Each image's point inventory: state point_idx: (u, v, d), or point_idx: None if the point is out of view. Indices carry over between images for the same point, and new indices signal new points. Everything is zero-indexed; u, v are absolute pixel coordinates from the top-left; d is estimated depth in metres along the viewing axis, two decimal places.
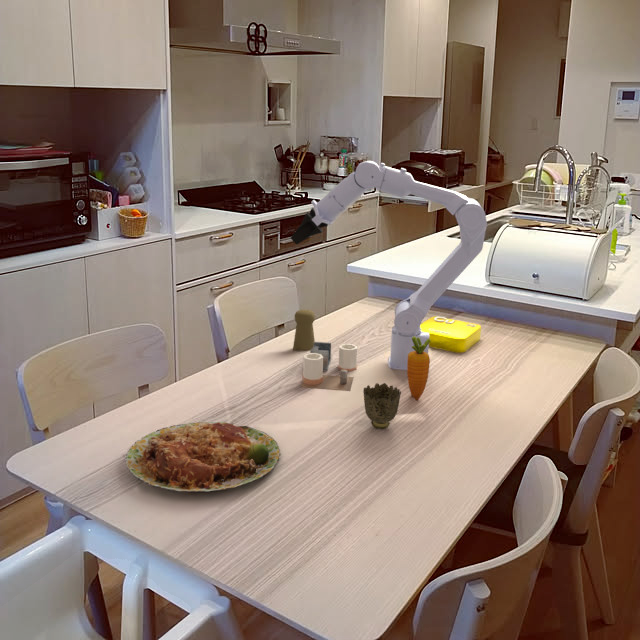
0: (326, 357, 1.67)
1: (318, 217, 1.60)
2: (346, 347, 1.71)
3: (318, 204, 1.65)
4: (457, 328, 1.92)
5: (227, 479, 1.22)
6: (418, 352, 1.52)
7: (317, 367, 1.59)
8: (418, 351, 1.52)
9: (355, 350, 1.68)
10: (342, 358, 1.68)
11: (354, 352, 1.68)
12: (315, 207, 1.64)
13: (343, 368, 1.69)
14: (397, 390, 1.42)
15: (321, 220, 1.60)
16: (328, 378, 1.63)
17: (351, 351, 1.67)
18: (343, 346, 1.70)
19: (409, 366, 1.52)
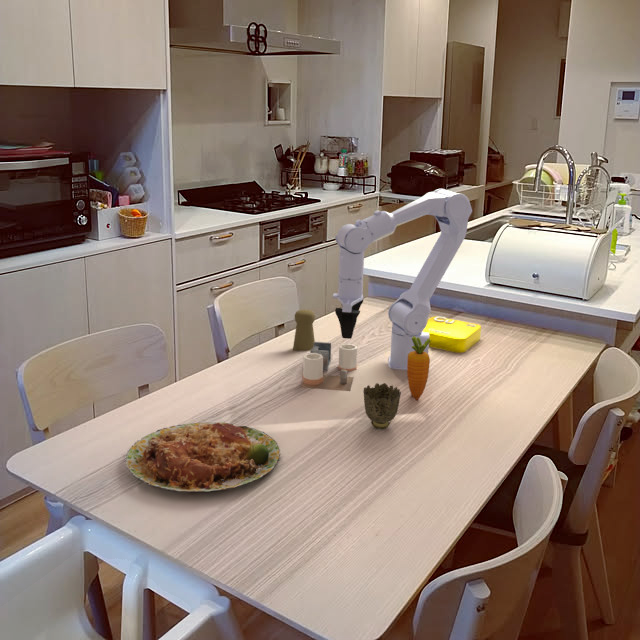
0: (326, 357, 1.67)
1: (345, 305, 1.58)
2: (346, 347, 1.71)
3: (339, 294, 1.64)
4: (456, 328, 1.92)
5: (227, 479, 1.22)
6: (418, 352, 1.52)
7: (317, 367, 1.59)
8: (418, 351, 1.52)
9: (355, 350, 1.68)
10: (342, 358, 1.68)
11: (354, 352, 1.68)
12: (338, 298, 1.63)
13: (343, 368, 1.69)
14: (397, 390, 1.42)
15: (349, 305, 1.58)
16: (328, 378, 1.63)
17: (351, 351, 1.67)
18: (343, 346, 1.70)
19: (409, 366, 1.52)
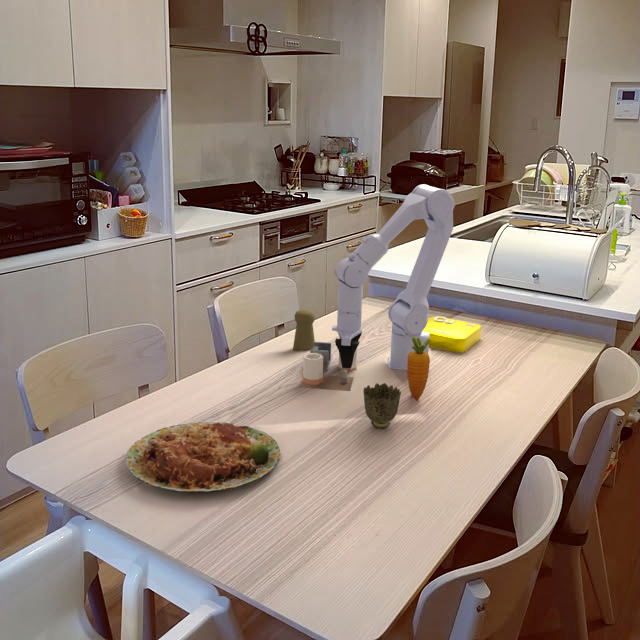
0: (326, 357, 1.67)
1: (344, 339, 1.61)
2: None
3: (338, 327, 1.66)
4: (456, 328, 1.92)
5: (227, 479, 1.22)
6: (418, 352, 1.52)
7: (317, 367, 1.59)
8: (418, 351, 1.52)
9: None
10: None
11: None
12: (337, 331, 1.66)
13: (343, 368, 1.69)
14: (397, 390, 1.42)
15: (348, 339, 1.61)
16: (328, 378, 1.63)
17: None
18: None
19: (409, 366, 1.52)
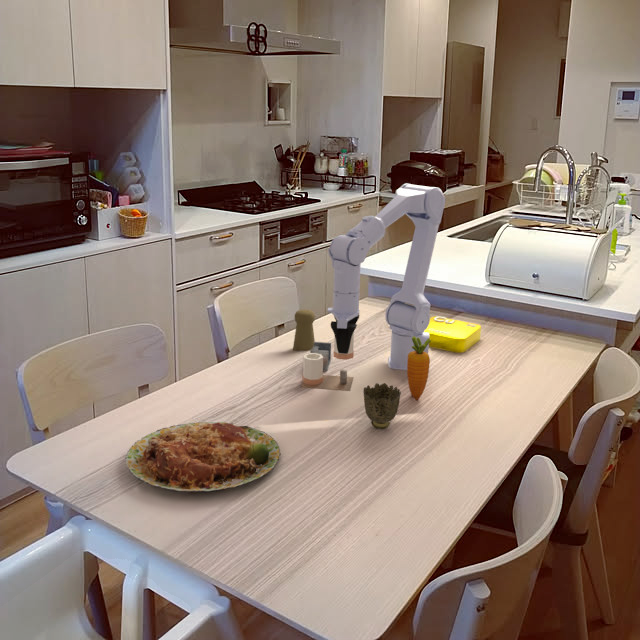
0: (326, 357, 1.67)
1: (340, 321, 1.49)
2: None
3: (334, 309, 1.55)
4: (456, 328, 1.92)
5: (227, 479, 1.22)
6: (418, 352, 1.52)
7: (317, 367, 1.59)
8: (418, 351, 1.52)
9: (352, 334, 1.56)
10: None
11: None
12: (333, 313, 1.54)
13: (339, 353, 1.57)
14: (397, 390, 1.42)
15: (345, 321, 1.49)
16: (328, 378, 1.63)
17: None
18: None
19: (409, 366, 1.52)
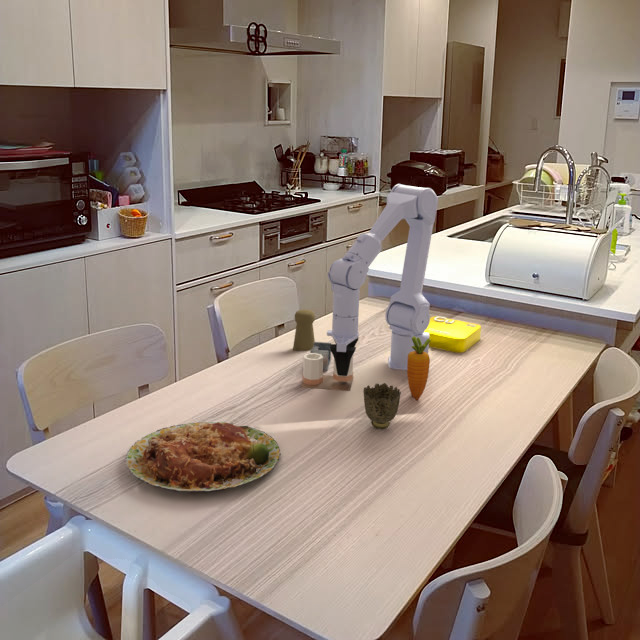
0: (326, 357, 1.67)
1: (339, 345, 1.51)
2: None
3: (333, 331, 1.56)
4: (456, 328, 1.92)
5: (227, 479, 1.22)
6: (418, 352, 1.52)
7: (317, 367, 1.59)
8: (418, 351, 1.52)
9: None
10: None
11: None
12: (333, 336, 1.56)
13: (338, 375, 1.58)
14: (397, 390, 1.42)
15: (344, 345, 1.50)
16: (328, 378, 1.63)
17: None
18: None
19: (409, 366, 1.52)
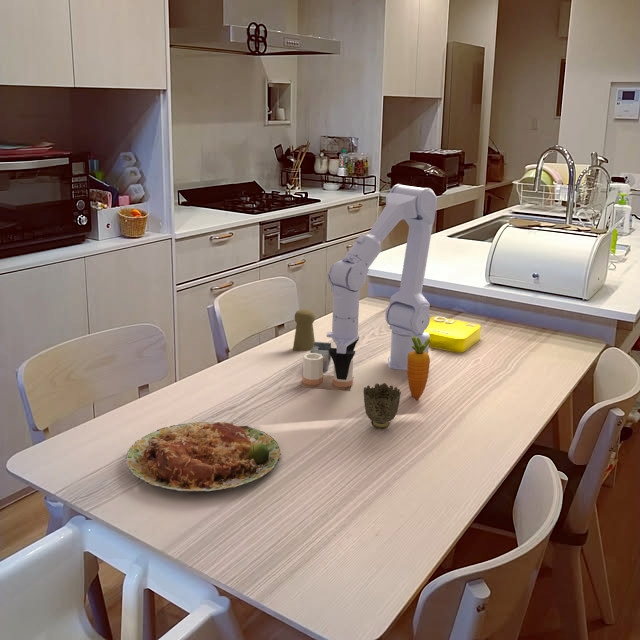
0: (326, 357, 1.67)
1: (339, 346, 1.51)
2: None
3: (333, 333, 1.56)
4: (456, 328, 1.92)
5: (227, 479, 1.22)
6: (418, 352, 1.52)
7: (317, 367, 1.59)
8: (418, 351, 1.52)
9: (351, 362, 1.58)
10: None
11: (350, 364, 1.58)
12: (332, 338, 1.56)
13: (338, 381, 1.59)
14: (397, 390, 1.42)
15: (344, 346, 1.51)
16: (328, 378, 1.63)
17: None
18: None
19: (409, 366, 1.52)
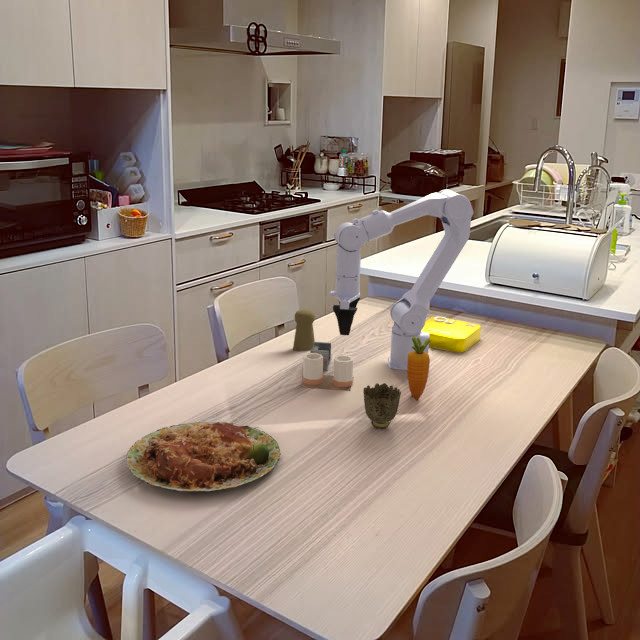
0: (326, 357, 1.67)
1: (343, 302, 1.61)
2: (341, 359, 1.61)
3: (336, 291, 1.66)
4: (456, 328, 1.92)
5: (228, 479, 1.22)
6: (418, 352, 1.52)
7: (317, 367, 1.59)
8: (418, 351, 1.52)
9: (351, 362, 1.58)
10: (337, 370, 1.58)
11: (350, 364, 1.58)
12: (336, 296, 1.66)
13: (338, 381, 1.59)
14: (397, 390, 1.42)
15: (347, 302, 1.61)
16: (328, 378, 1.63)
17: (347, 364, 1.57)
18: (338, 358, 1.60)
19: (409, 366, 1.52)
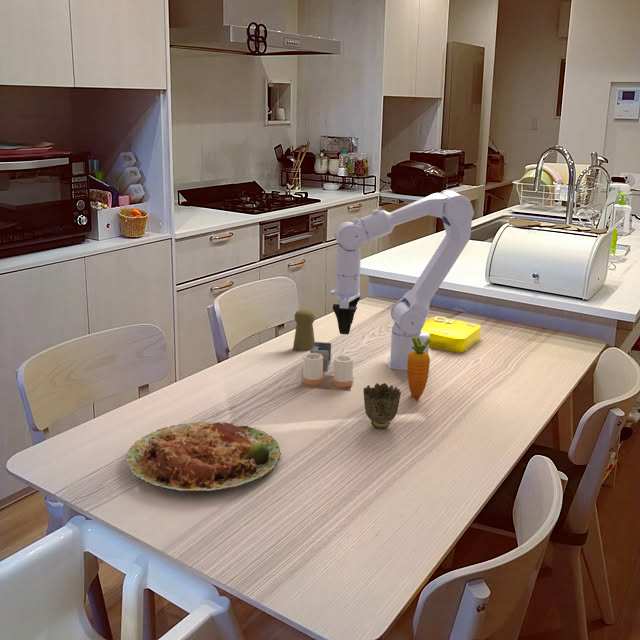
0: (326, 357, 1.67)
1: (342, 301, 1.61)
2: (341, 359, 1.61)
3: (336, 291, 1.67)
4: (456, 328, 1.92)
5: (228, 478, 1.22)
6: (418, 352, 1.52)
7: (317, 367, 1.59)
8: (418, 351, 1.52)
9: (351, 362, 1.58)
10: (337, 370, 1.58)
11: (350, 364, 1.58)
12: (336, 295, 1.66)
13: (338, 381, 1.59)
14: (397, 390, 1.42)
15: (346, 301, 1.61)
16: (328, 378, 1.63)
17: (347, 364, 1.57)
18: (338, 358, 1.60)
19: (409, 366, 1.52)
